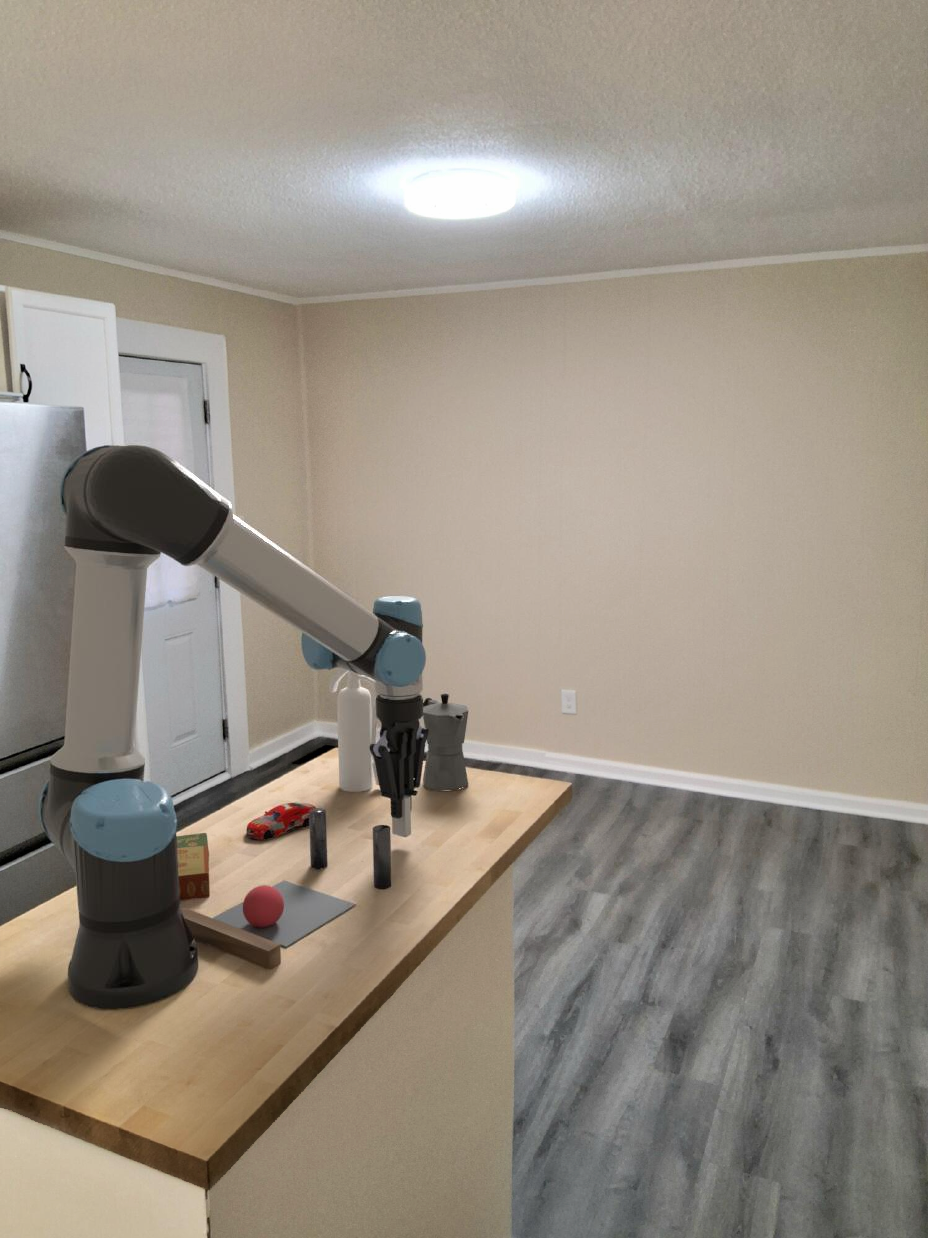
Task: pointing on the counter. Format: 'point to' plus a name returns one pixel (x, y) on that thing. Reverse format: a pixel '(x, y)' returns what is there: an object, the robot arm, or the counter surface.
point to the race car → (280, 821)
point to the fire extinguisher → (355, 732)
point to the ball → (263, 906)
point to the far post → (318, 838)
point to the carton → (193, 866)
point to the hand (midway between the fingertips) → (401, 834)
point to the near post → (382, 857)
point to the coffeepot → (445, 744)
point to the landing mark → (292, 914)
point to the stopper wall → (233, 940)
